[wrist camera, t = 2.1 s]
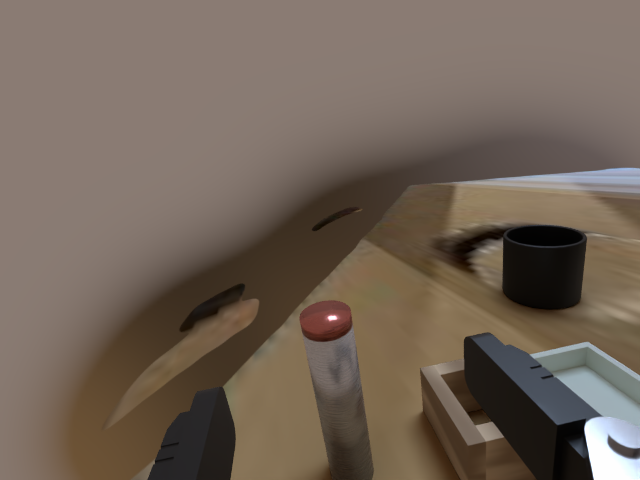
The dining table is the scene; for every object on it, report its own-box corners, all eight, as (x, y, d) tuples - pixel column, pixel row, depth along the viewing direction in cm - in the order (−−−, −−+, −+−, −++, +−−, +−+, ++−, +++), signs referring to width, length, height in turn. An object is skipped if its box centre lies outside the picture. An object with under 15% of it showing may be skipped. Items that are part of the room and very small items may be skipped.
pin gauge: (367, 444, 29) (345, 296, 24) (379, 485, 25) (356, 322, 21) (327, 454, 29) (298, 306, 24) (334, 496, 25) (301, 333, 21)
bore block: (500, 392, 32) (501, 350, 30) (569, 470, 24) (575, 420, 23) (423, 410, 31) (420, 368, 30) (469, 496, 24) (468, 445, 22)
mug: (567, 273, 51) (572, 218, 48) (589, 313, 41) (597, 247, 38) (499, 270, 55) (500, 220, 53) (504, 307, 45) (505, 247, 42)
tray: (584, 364, 33) (587, 341, 33) (706, 452, 24) (714, 424, 23) (494, 385, 33) (494, 362, 32) (581, 484, 23) (585, 455, 22)
